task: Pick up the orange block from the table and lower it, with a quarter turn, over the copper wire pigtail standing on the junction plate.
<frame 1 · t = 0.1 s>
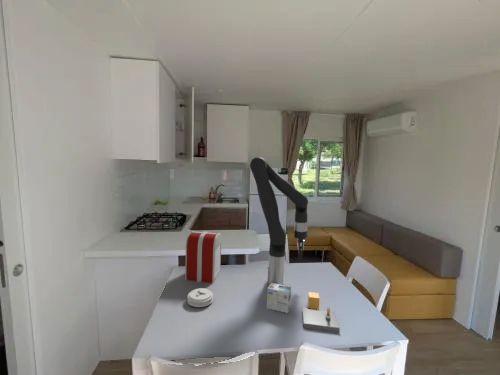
hand: (300, 256, 150), 17 cm above the table, tool pointing down, fingers open, 8 cm apart
lid: (200, 302, 131), on the table
junction plate: (319, 321, 118), on the table
pigtail: (327, 322, 118), resting on junction plate
light bulb box: (278, 308, 128), on the table
red striped box: (203, 275, 160), on the table
orange block: (313, 306, 130), on the table
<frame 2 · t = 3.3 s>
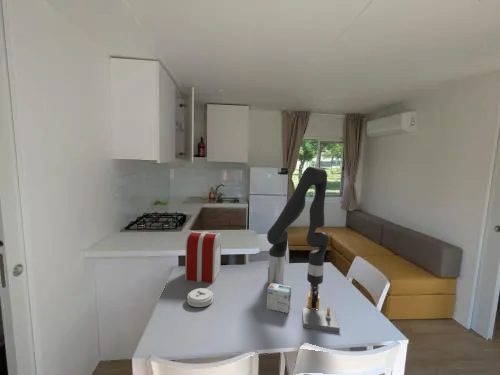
hand: (313, 304, 130), 1 cm above the table, tool pointing down, fingers closed on orange block, 5 cm apart
orange block: (313, 306, 130), on the table, touching gripper
everything else where it was.
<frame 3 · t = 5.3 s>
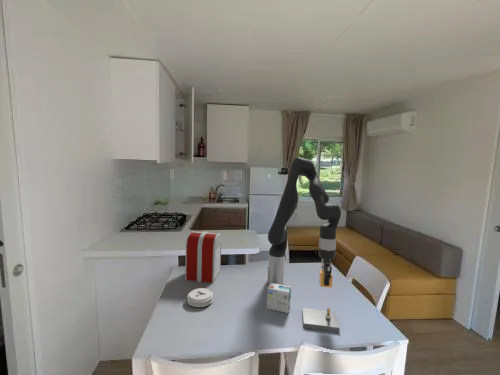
hand: (325, 282, 121), 16 cm above the table, tool pointing down, fingers closed on orange block, 5 cm apart
orange block: (325, 284, 121), point 15 cm above the table, touching gripper
everything else where it was.
when the fingers open (5 cm above the table, at t = 7.8 s): orange block drops 2 cm, resting on junction plate.
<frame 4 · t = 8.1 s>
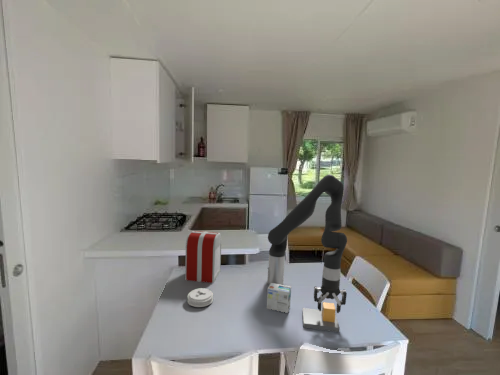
hand: (328, 311, 117), 5 cm above the table, tool pointing down, fingers open, 7 cm apart
orange block: (328, 318, 117), point 2 cm above the table, touching junction plate
everything else where it was.
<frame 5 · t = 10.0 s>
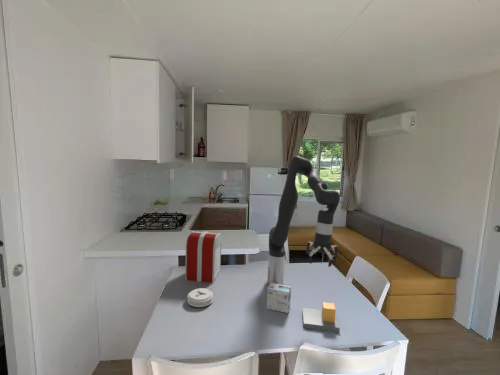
hand: (319, 264, 125), 23 cm above the table, tool pointing down, fingers open, 8 cm apart
nothing on the table moved.
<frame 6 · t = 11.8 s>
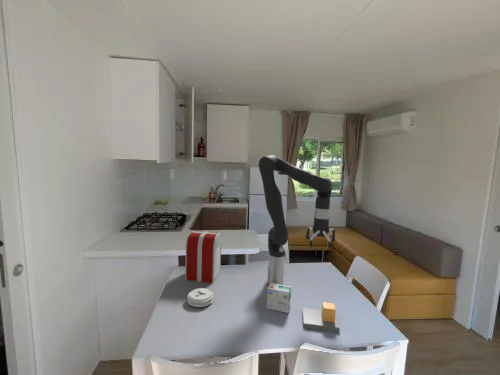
hand: (319, 247, 134), 28 cm above the table, tool pointing down, fingers open, 8 cm apart
nothing on the table moved.
at the end: orange block 0.0 cm from the target spot on the junction plate, point 2.0 cm above the junction plate's base; orange block tilted 0°; the gripper is holding nothing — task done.
